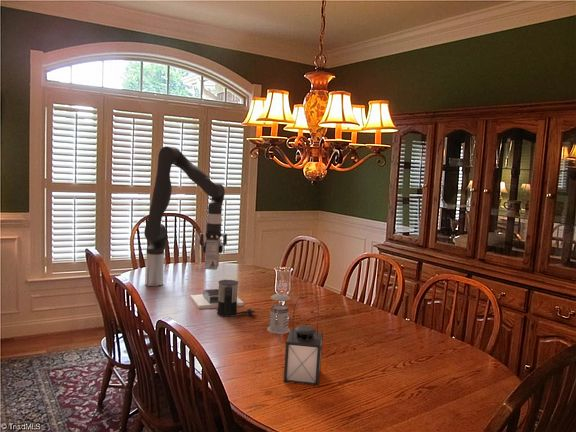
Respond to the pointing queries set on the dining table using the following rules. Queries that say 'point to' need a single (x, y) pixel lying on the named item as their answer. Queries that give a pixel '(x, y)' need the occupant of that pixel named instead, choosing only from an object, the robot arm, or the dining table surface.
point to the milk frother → (229, 299)
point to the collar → (209, 293)
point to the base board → (203, 303)
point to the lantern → (303, 354)
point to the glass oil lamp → (279, 314)
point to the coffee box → (212, 253)
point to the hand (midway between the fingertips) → (212, 253)
